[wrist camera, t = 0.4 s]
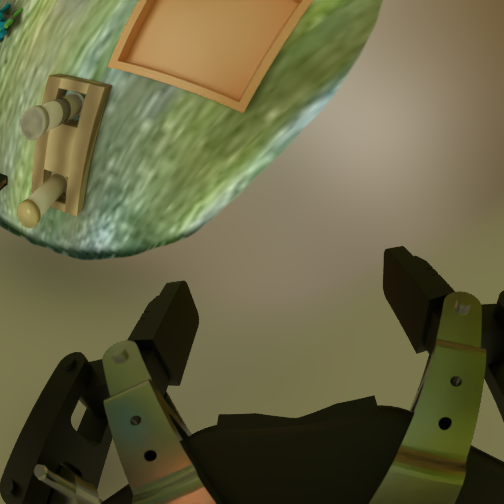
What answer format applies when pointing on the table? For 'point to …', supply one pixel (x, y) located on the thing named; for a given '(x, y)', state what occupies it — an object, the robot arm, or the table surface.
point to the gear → (6, 20)
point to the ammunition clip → (3, 181)
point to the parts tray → (207, 44)
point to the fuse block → (70, 141)
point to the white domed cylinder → (51, 115)
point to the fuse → (41, 200)
